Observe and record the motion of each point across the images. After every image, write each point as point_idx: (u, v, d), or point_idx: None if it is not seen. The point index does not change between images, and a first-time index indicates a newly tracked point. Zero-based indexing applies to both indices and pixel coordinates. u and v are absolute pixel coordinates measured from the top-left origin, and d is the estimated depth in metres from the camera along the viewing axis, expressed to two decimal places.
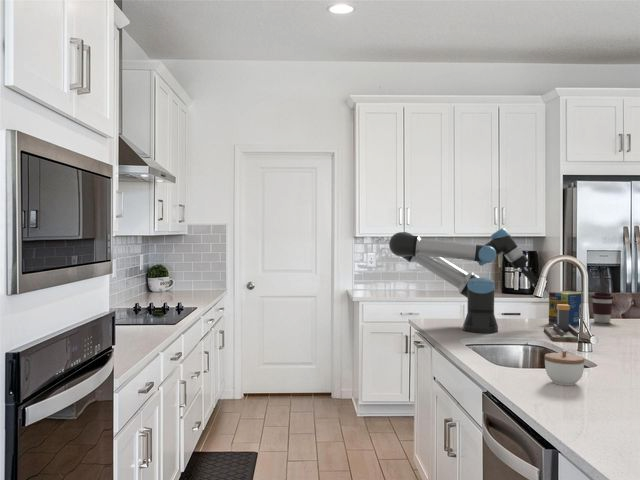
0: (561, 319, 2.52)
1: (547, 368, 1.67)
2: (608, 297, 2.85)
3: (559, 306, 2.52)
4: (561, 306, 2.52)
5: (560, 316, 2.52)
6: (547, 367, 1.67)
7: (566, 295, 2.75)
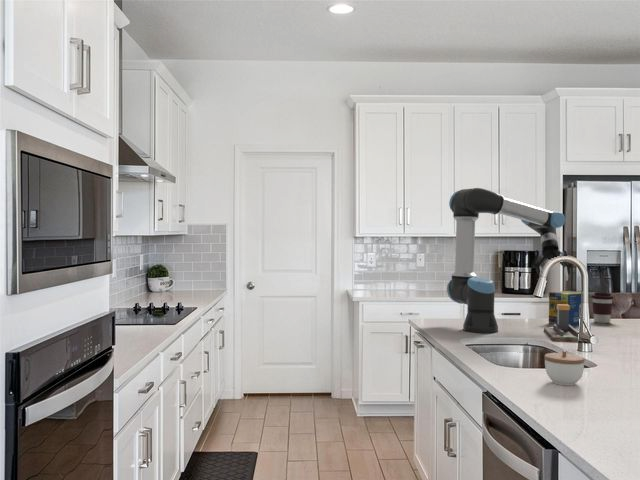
0: (561, 319, 2.52)
1: (547, 368, 1.67)
2: (608, 297, 2.85)
3: (559, 306, 2.52)
4: (561, 306, 2.52)
5: (560, 316, 2.52)
6: (547, 367, 1.67)
7: (566, 295, 2.75)
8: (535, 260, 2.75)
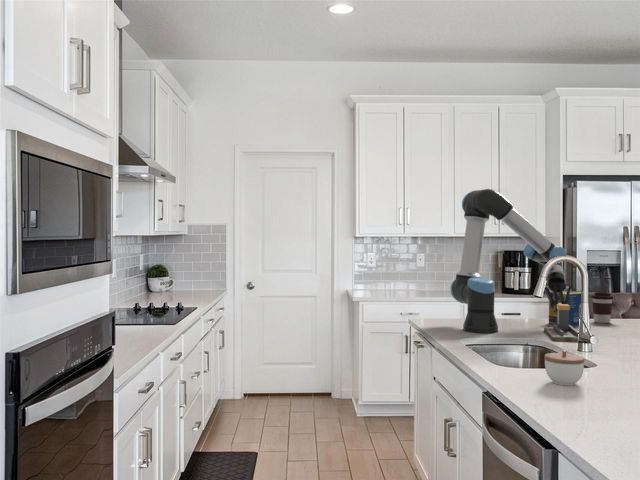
0: (561, 319, 2.52)
1: (547, 368, 1.67)
2: (608, 297, 2.85)
3: (559, 306, 2.52)
4: (561, 306, 2.52)
5: (560, 316, 2.52)
6: (547, 367, 1.67)
7: None
8: (550, 296, 2.67)
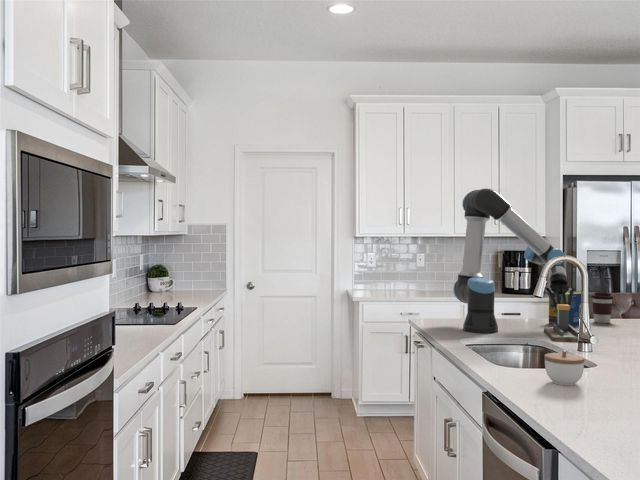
0: (561, 319, 2.52)
1: (547, 368, 1.67)
2: (608, 297, 2.85)
3: (559, 306, 2.52)
4: (561, 306, 2.52)
5: (560, 316, 2.52)
6: (547, 367, 1.67)
7: (566, 295, 2.75)
8: (553, 298, 2.63)
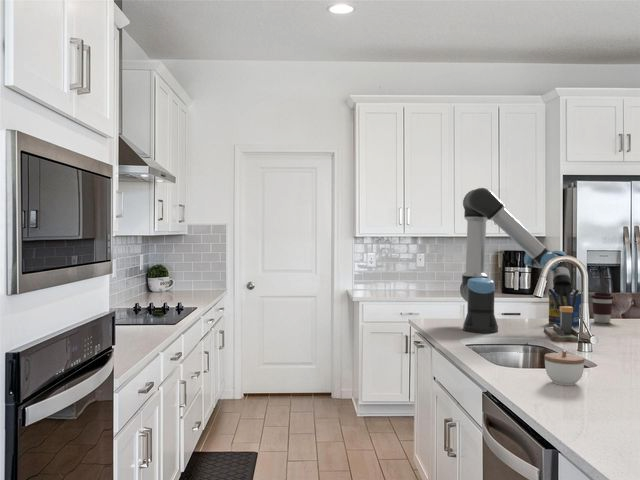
0: (564, 322, 2.44)
1: (547, 368, 1.67)
2: (608, 297, 2.85)
3: (562, 308, 2.44)
4: (564, 308, 2.44)
5: (563, 319, 2.44)
6: (547, 367, 1.67)
7: None
8: (556, 300, 2.56)
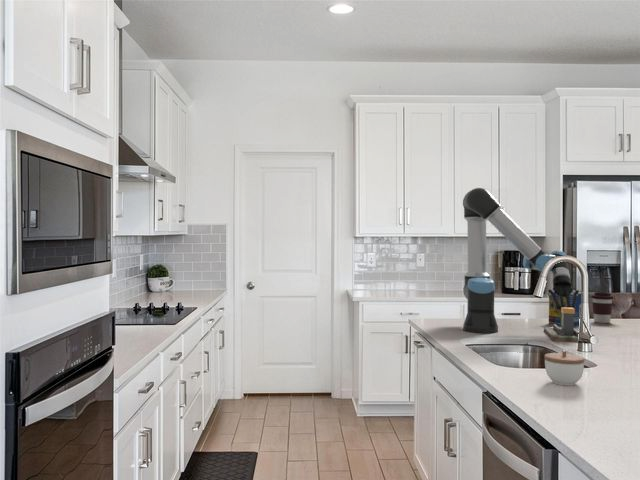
0: (566, 323, 2.41)
1: (547, 368, 1.67)
2: (608, 297, 2.85)
3: (564, 309, 2.40)
4: (566, 309, 2.40)
5: (565, 320, 2.41)
6: (547, 367, 1.67)
7: None
8: (556, 301, 2.52)
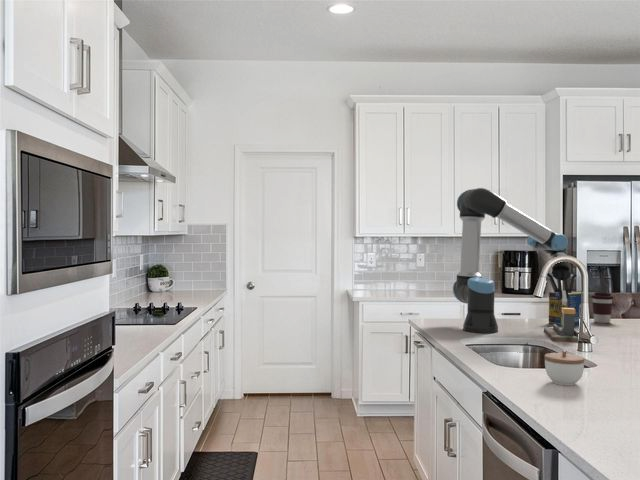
0: (566, 323, 2.39)
1: (547, 368, 1.67)
2: (608, 297, 2.85)
3: (564, 310, 2.39)
4: (566, 310, 2.39)
5: (565, 320, 2.39)
6: (547, 367, 1.67)
7: None
8: (554, 284, 2.64)
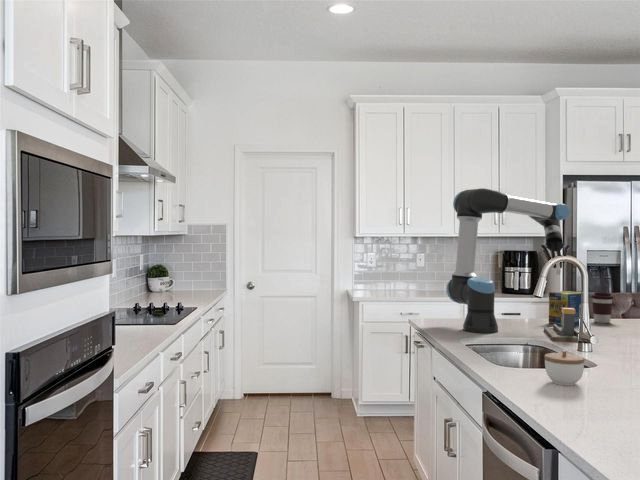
0: (566, 323, 2.39)
1: (547, 368, 1.67)
2: (608, 297, 2.85)
3: (564, 310, 2.39)
4: (566, 310, 2.39)
5: (565, 320, 2.39)
6: (547, 367, 1.67)
7: (566, 295, 2.75)
8: (548, 254, 2.74)
